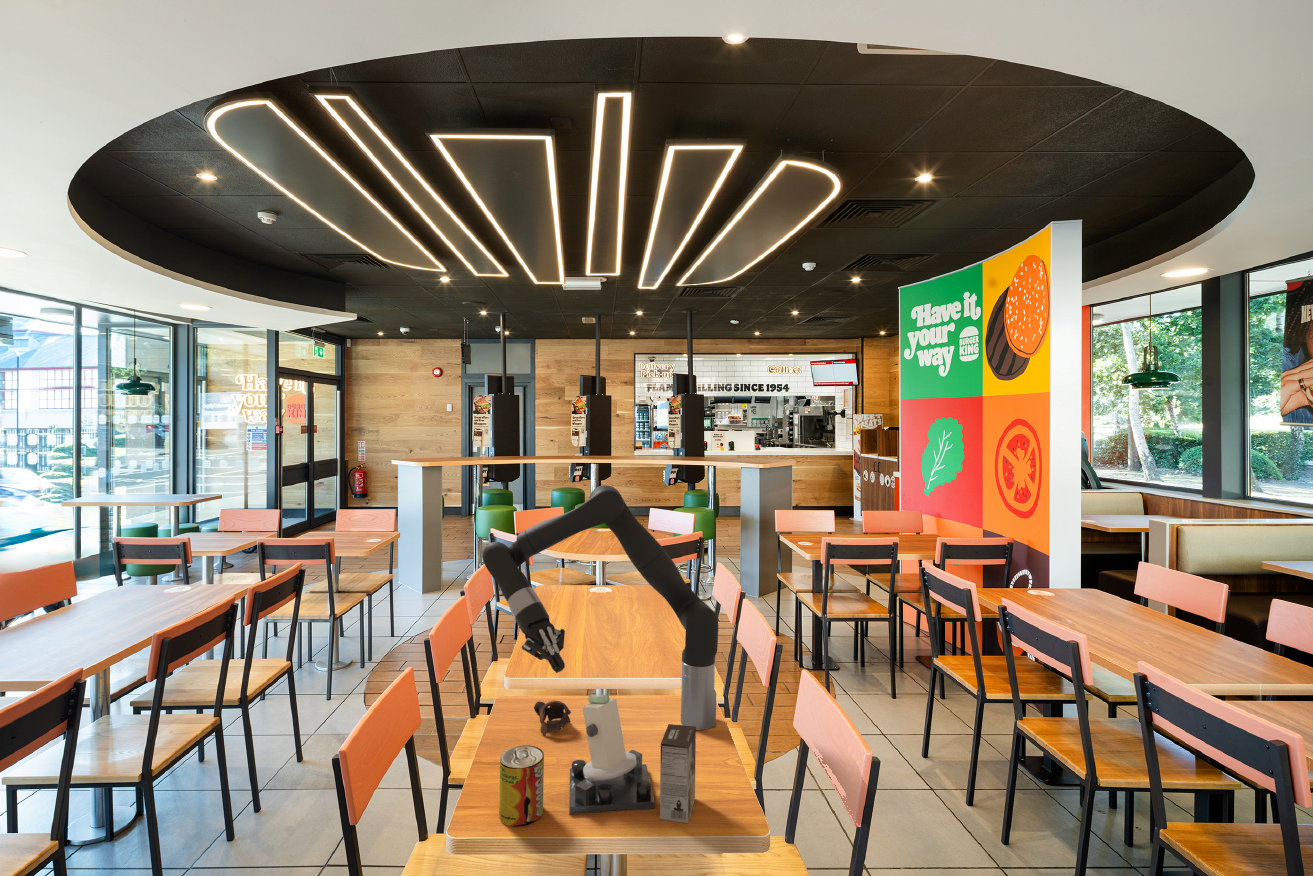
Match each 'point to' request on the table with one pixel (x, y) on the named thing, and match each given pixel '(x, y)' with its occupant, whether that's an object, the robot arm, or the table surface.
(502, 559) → the robot arm
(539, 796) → the beverage can
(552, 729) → the brown hollow shell
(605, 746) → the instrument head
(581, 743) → the table surface
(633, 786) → the base
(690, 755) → the coffee box
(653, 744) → the table surface
